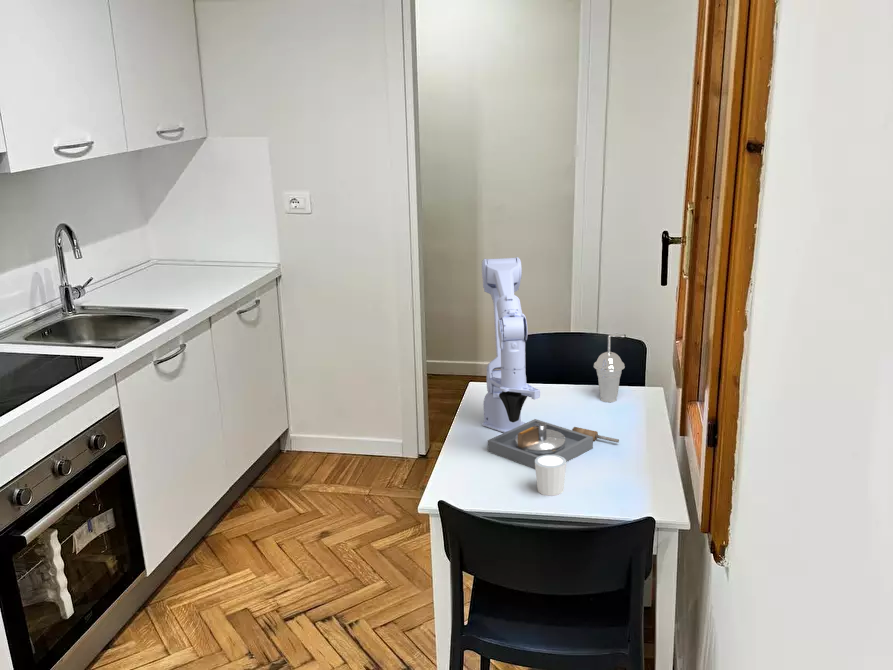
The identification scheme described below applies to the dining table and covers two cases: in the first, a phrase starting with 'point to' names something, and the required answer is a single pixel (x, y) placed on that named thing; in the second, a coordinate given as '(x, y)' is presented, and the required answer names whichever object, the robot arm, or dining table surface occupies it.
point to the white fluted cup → (550, 474)
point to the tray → (507, 449)
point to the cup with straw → (609, 373)
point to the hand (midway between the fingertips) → (514, 420)
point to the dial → (540, 440)
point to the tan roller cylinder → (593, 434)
